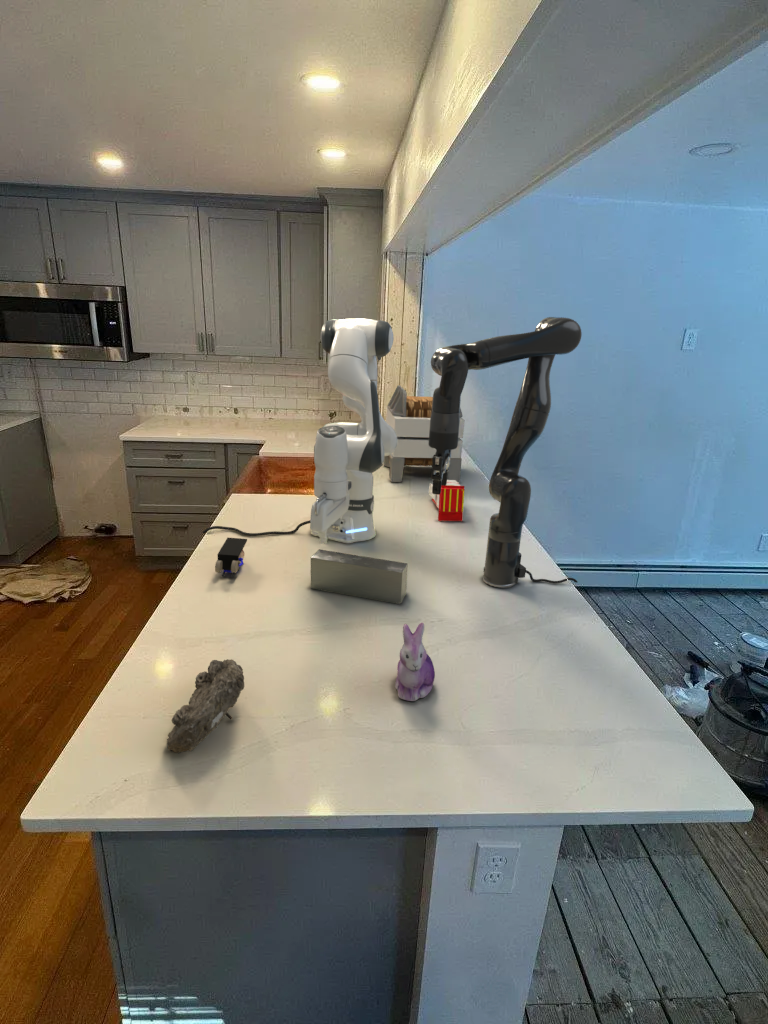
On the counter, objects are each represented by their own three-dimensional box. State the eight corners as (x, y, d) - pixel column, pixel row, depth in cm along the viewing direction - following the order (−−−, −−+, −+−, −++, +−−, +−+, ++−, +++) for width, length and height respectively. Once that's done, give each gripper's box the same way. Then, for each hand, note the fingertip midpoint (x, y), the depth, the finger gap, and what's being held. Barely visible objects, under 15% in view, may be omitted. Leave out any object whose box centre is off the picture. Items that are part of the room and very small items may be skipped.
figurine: (406, 709, 112) (411, 644, 107) (383, 680, 121) (386, 618, 116) (446, 696, 116) (452, 633, 111) (420, 669, 125) (425, 609, 120)
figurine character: (238, 584, 162) (249, 557, 175) (236, 562, 158) (247, 536, 172) (215, 584, 161) (227, 556, 175) (212, 561, 158) (225, 535, 171)
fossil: (192, 660, 117) (244, 628, 112) (224, 691, 120) (276, 661, 115) (142, 746, 98) (202, 712, 93) (182, 779, 101) (242, 748, 96)
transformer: (382, 463, 289) (386, 382, 275) (445, 464, 293) (451, 384, 279) (390, 482, 257) (394, 392, 243) (460, 483, 261) (468, 394, 247)
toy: (456, 475, 238) (469, 487, 209) (454, 506, 241) (466, 522, 212) (427, 474, 238) (436, 486, 209) (426, 505, 241) (434, 521, 211)
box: (310, 588, 159) (310, 557, 156) (318, 579, 164) (318, 549, 161) (400, 604, 152) (402, 572, 149) (405, 594, 158) (407, 563, 155)
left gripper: (327, 501, 140) (326, 552, 145) (354, 480, 159) (352, 526, 163) (303, 498, 142) (304, 548, 146) (333, 477, 160) (332, 523, 165)
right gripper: (454, 435, 138) (448, 499, 143) (462, 425, 151) (457, 483, 156) (424, 432, 139) (419, 495, 145) (435, 422, 152) (430, 480, 158)
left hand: (330, 536), depth 155 cm, fingers open, 8 cm apart
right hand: (439, 489), depth 150 cm, fingers open, 8 cm apart
